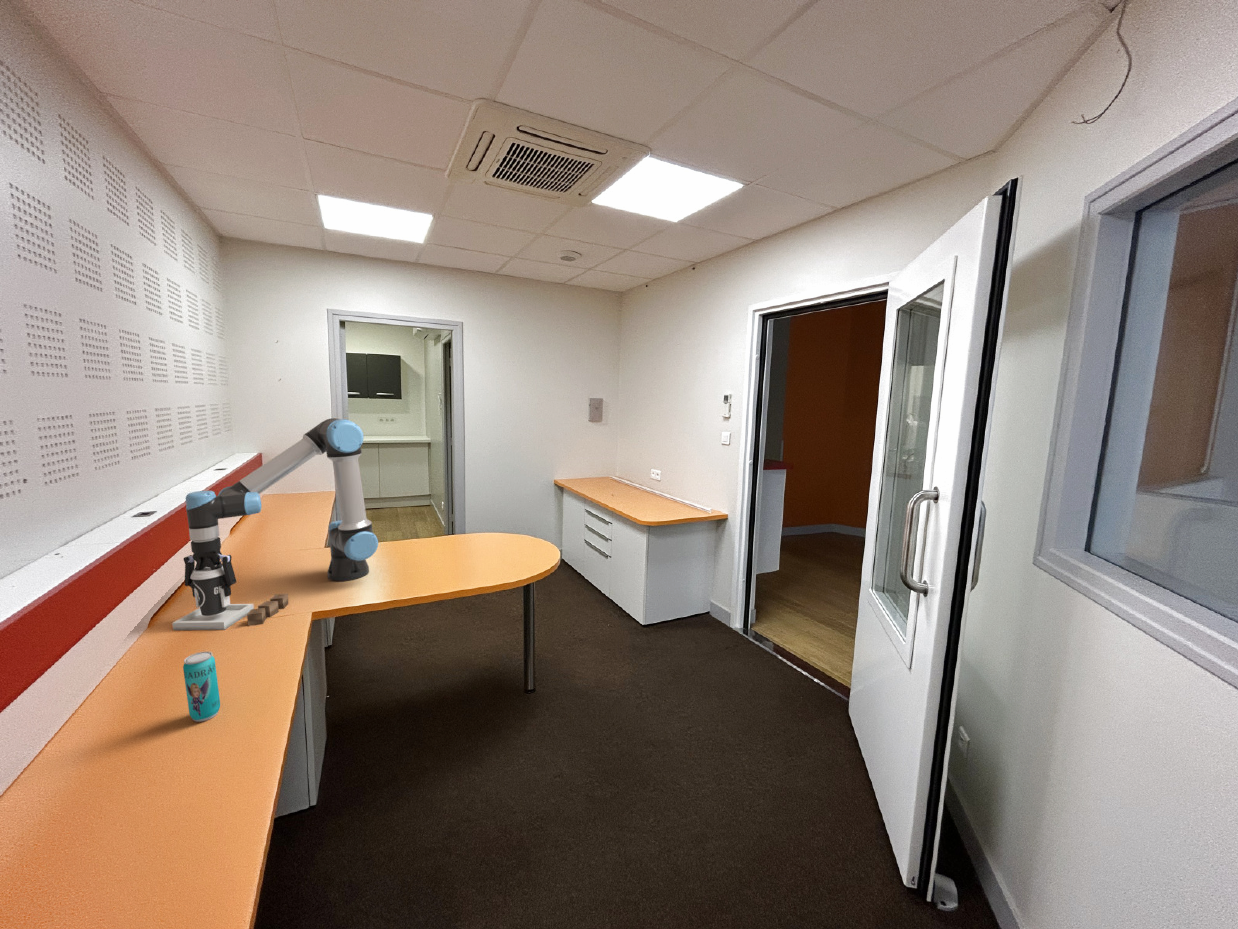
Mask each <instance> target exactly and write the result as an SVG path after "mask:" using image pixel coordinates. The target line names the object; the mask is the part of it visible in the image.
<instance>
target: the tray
mask: <svg viewBox="0 0 1238 929" xmlns="http://www.w3.org/2000/svg"><path fill="white" fill-rule="evenodd" d="M252 609H255V607H254V603H230V604H229V605H227V606H226V610H225V611H224V612H222V613H219V614H216V615H211V616H203V615H202V614H201V610H200V607H197V608H196V609H194V610H192V611H191V612H189V613H187V614H185V615H183V616H182V617H180V618H178V619H177V620H175V621H173V622H172V624H171V625H172V631H210V630H212V631H215V630H216V631H219V630H220V631H223V630H224V631H225V630H226V629H228V628H229V627H230V626H231V627H232V625H234V624H236V623H237V622H238V621H240V620H242V619H243V618H244V617H247V614H248V613H249V611H250V610H252Z"/></svg>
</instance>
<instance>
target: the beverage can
mask: <svg viewBox="0 0 1238 929" xmlns="http://www.w3.org/2000/svg"><path fill="white" fill-rule="evenodd" d="M216 665H217V664H216V659H215V657H214V656H213V652H212V651H201V652H196V653H193V654H190V655H189V656H187V657H186V658H184V659H183V666H182V669H183V676H184V678H183V679H184V683H185V684H184V686H185V691H186V692H185V693H186V700H187V706H188V712H189V713H188V714H189V716H190V718H191V719H192V720H193V721H194V722H196V723H200V722H201V723H202V722H206V721H209V720H211V719H213V718H214V717H216V716H217V715H218V713H219V711H220V708H221V698H220V690H219V683H218V681H219V680H218V673H217V667H216Z"/></svg>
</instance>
